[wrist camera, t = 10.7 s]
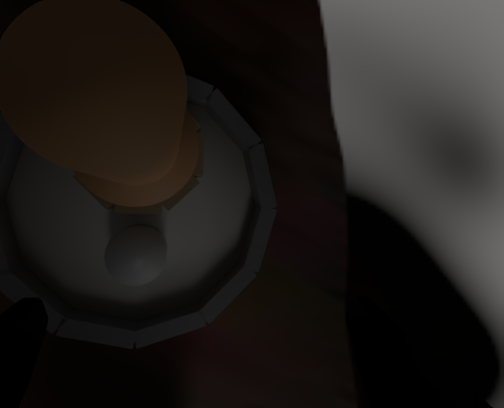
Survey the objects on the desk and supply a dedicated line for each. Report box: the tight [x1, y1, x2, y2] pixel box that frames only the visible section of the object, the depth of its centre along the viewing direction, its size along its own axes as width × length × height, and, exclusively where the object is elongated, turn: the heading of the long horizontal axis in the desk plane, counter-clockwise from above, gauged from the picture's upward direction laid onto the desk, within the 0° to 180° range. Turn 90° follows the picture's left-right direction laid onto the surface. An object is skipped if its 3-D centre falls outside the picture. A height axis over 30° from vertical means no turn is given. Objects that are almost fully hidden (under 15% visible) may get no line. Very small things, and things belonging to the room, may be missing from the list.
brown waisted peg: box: [0, 0, 199, 207], centre depth 13 cm, size 6×6×12 cm
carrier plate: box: [0, 75, 277, 349], centre depth 19 cm, size 16×16×3 cm
